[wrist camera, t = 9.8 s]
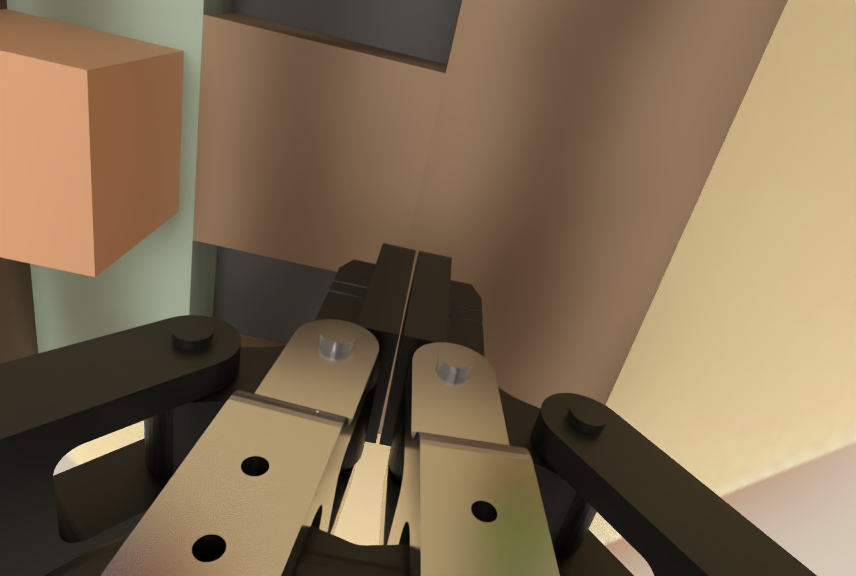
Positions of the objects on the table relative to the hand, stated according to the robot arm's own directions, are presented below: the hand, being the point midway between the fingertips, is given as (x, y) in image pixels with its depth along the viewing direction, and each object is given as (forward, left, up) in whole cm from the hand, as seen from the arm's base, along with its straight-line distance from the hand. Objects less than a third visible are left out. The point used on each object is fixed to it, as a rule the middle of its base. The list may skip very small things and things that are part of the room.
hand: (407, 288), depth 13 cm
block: (+10, 0, -7) cm, 12 cm away
